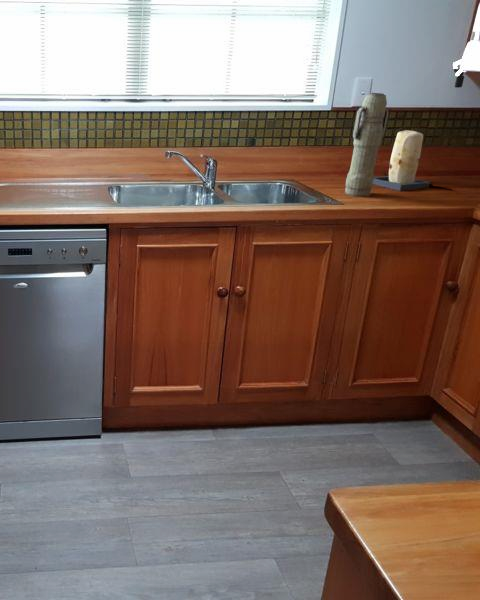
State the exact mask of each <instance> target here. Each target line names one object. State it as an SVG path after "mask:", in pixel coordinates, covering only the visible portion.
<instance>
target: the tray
mask: <svg viewBox="0 0 480 600" xmlns="http://www.w3.org/2000/svg"><path fill="white" fill-rule="evenodd" d="M430 184H431V183H430V181H427V180H421V179H418V178H414V182H413V183H412V184H402V185H400V184H396V183H393V182H390V181H389V175H386V176H374V180H373V185H372V186H377V187H380V188H385V187H386V188H385V189H389V188H390V189H389V190H393V189H394V190H393V191H397V190H398V192H404V191H403V190H406V191H412V190H411V189H415V190H422V189H421V188H424V189H429V188H430Z"/></svg>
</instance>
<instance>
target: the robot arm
mask: <svg viewBox="0 0 480 600" xmlns="http://www.w3.org/2000/svg"><path fill="white" fill-rule="evenodd" d="M470 35H471V36H470V39H469V41H468V42H467V44H466V46H465V49H464V51H463V54H462V57H461V59H459V60H457V61H455V62H453V64H452V66H453V72H454V73H455V77H456V78H455V82H454V88H463V84H464V80H465V74H466V73H467V72H477V73H478V72H479V73H480V3H479V4H478V7H477V11H476V15H475V18H474V23H473V27H472V32H471V34H470Z"/></svg>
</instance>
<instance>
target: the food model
mask: <svg viewBox="0 0 480 600" xmlns="http://www.w3.org/2000/svg"><path fill="white" fill-rule="evenodd" d="M423 140H424V134H423V133H421V132H418V131H415V130H407V129H405V130H401V131H397V134H396V137H395V141H394V144H393V146H392V151H391V156H390V160H389V168H388V176H389V181H390V182H393V183H396V184H400V185H402V184H412V183H413V182H414V179H416V178H415V177H416V175H417V171H418V167H419V162H420V158H421V153H422V146H423Z"/></svg>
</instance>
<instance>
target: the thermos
mask: <svg viewBox="0 0 480 600" xmlns="http://www.w3.org/2000/svg"><path fill="white" fill-rule="evenodd" d="M387 104H388V101H387V95H386V94H385V93H380V92H369V93H367V94H366V95H365V97H364V98H363V101H362V105H361V107H359V108H358V110H356V115H355V121H354V126H353V131H352V139H353V143H352V144H353V151H352V156H351V162H350V168H349V171H348V173H347V175H346V179H345V184H344V185H345V188H344V194H345V195H347V196H352V197H361V198H363V197H366V198H367V197H370V196H371V191H372V189H373V186H374V185H373V180H374V177H375V175H374V171H375V167H376V162H377V157H378V152H379V148H380V146H381V145H382V139H383V138H384V137H385V135H386V129H387V124H388V119H389V115H390V114H389V113H390V112H389V108H387Z"/></svg>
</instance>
